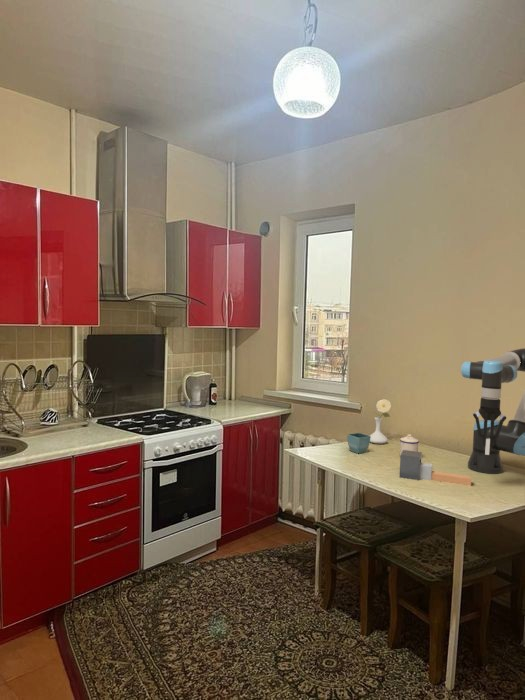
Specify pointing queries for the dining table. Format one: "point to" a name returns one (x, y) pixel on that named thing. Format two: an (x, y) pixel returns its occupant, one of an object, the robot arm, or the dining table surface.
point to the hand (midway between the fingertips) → (487, 453)
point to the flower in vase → (382, 407)
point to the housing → (410, 464)
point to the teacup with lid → (408, 444)
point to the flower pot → (358, 442)
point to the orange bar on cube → (441, 475)
